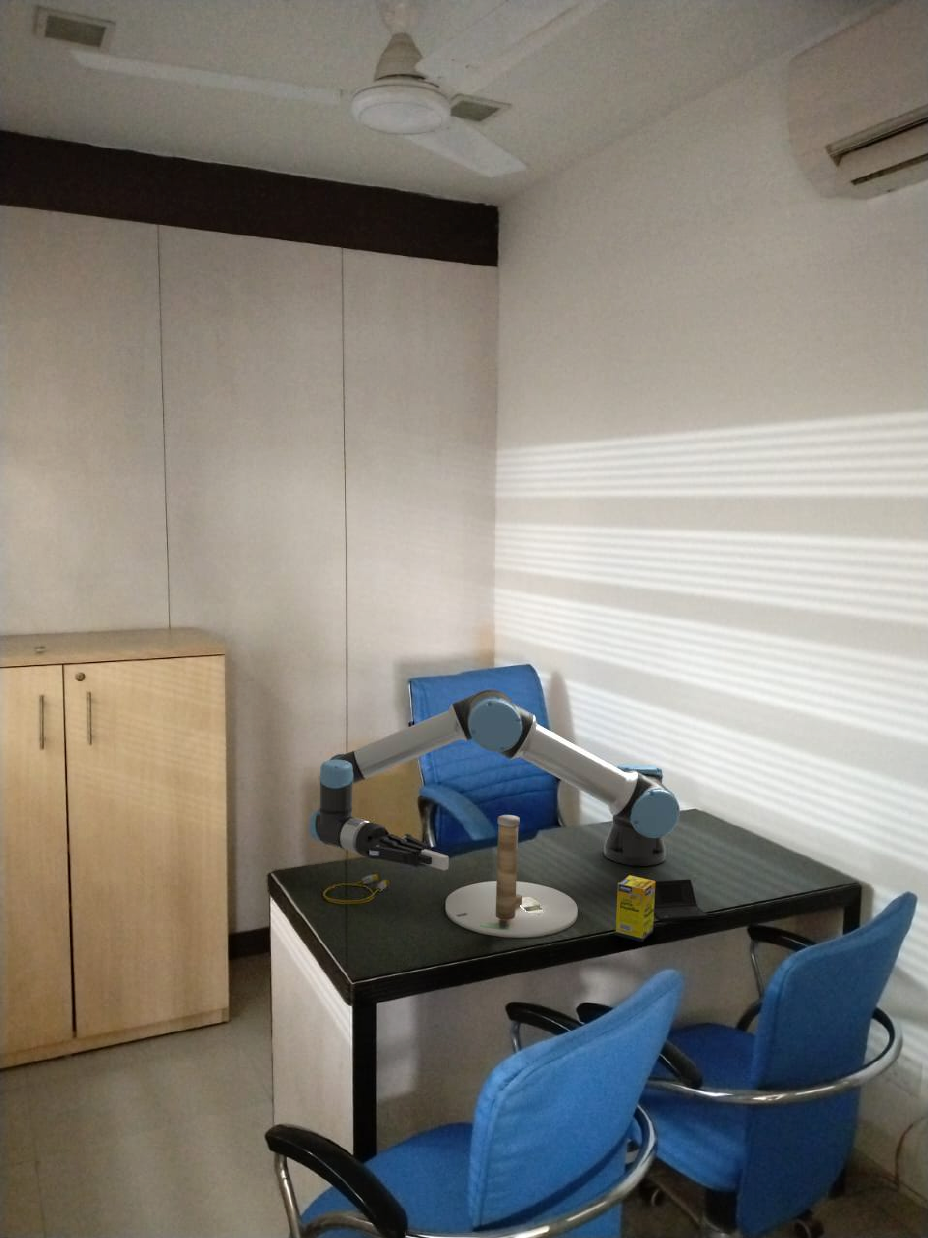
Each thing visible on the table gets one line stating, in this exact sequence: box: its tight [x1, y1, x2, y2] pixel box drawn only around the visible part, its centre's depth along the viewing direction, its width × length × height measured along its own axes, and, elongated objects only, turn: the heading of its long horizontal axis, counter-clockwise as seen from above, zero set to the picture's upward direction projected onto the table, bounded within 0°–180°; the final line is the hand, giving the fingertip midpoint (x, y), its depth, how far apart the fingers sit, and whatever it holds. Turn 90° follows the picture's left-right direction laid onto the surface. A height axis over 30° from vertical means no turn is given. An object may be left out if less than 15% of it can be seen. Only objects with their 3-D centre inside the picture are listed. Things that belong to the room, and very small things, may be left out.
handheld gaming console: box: [654, 878, 708, 923], centre depth 214 cm, size 12×7×10 cm
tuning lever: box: [496, 814, 522, 928], centre depth 206 cm, size 16×4×21 cm, turn 170°
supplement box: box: [614, 875, 655, 943], centre depth 202 cm, size 6×6×11 cm
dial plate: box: [445, 880, 579, 939], centre depth 213 cm, size 28×28×1 cm
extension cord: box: [322, 874, 390, 905], centre depth 220 cm, size 12×16×2 cm
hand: (446, 863), depth 211 cm, fingers closed
